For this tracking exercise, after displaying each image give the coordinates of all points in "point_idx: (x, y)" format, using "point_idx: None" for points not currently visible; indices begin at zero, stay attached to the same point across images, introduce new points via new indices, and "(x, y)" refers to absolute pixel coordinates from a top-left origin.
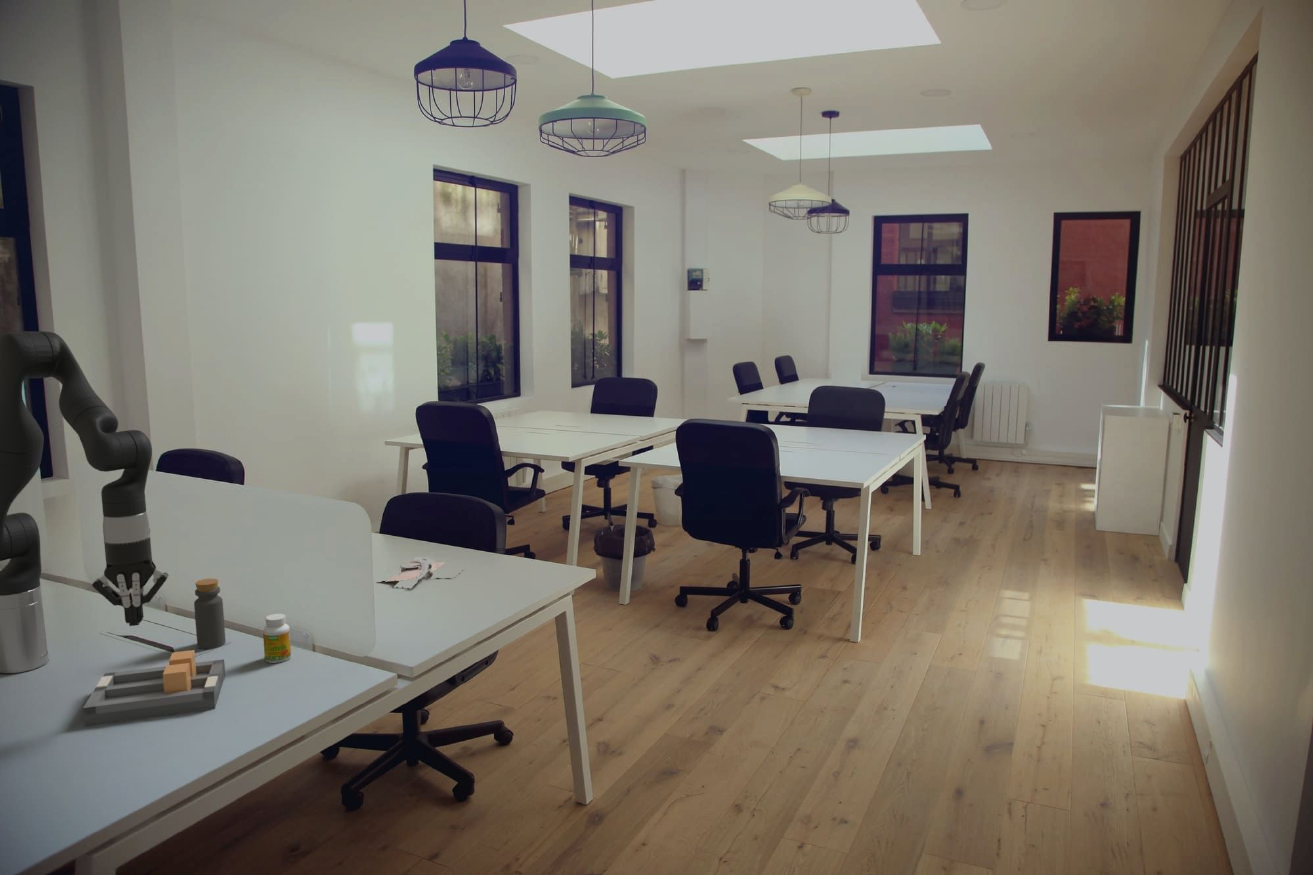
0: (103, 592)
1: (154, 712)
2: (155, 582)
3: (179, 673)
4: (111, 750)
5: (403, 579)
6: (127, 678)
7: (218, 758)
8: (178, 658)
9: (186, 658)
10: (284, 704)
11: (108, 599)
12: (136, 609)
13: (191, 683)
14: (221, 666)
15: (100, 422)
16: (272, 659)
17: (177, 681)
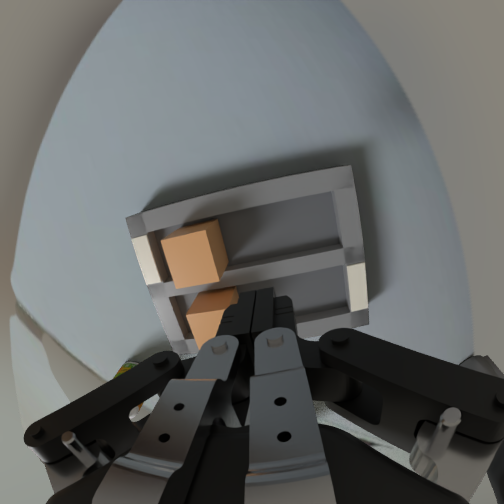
0: (434, 373)
1: (228, 188)
2: (71, 430)
3: (173, 237)
4: (247, 68)
5: None
6: (326, 313)
7: (91, 61)
8: (212, 317)
9: (194, 314)
10: (60, 219)
11: (387, 345)
12: (231, 330)
13: None
14: (163, 327)
15: None
16: (133, 365)
17: (184, 231)
